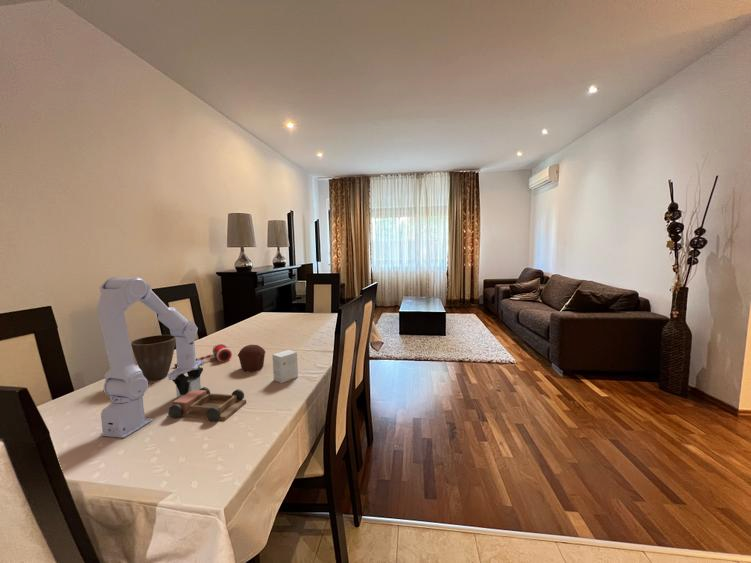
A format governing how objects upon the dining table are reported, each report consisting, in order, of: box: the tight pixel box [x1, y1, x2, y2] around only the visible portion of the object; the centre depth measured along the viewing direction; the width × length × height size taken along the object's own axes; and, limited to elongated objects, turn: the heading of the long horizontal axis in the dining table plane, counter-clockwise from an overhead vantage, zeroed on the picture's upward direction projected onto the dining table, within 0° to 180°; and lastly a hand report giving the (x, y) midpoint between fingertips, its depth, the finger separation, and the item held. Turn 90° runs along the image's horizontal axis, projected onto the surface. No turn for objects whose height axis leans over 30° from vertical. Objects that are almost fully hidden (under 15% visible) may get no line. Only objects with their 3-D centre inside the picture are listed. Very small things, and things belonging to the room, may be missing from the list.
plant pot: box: [130, 334, 176, 382], centre depth 131 cm, size 15×15×16 cm
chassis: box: [167, 386, 247, 422], centre depth 104 cm, size 14×20×4 cm
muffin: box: [237, 344, 266, 373], centre depth 140 cm, size 12×11×10 cm
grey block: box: [175, 376, 202, 399], centre depth 114 cm, size 4×6×6 cm
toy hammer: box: [174, 343, 233, 369], centre depth 148 cm, size 23×12×6 cm, turn 127°
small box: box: [272, 349, 299, 384], centre depth 127 cm, size 8×6×10 cm
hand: (188, 391), depth 114 cm, fingers closed on grey block, 4 cm apart
